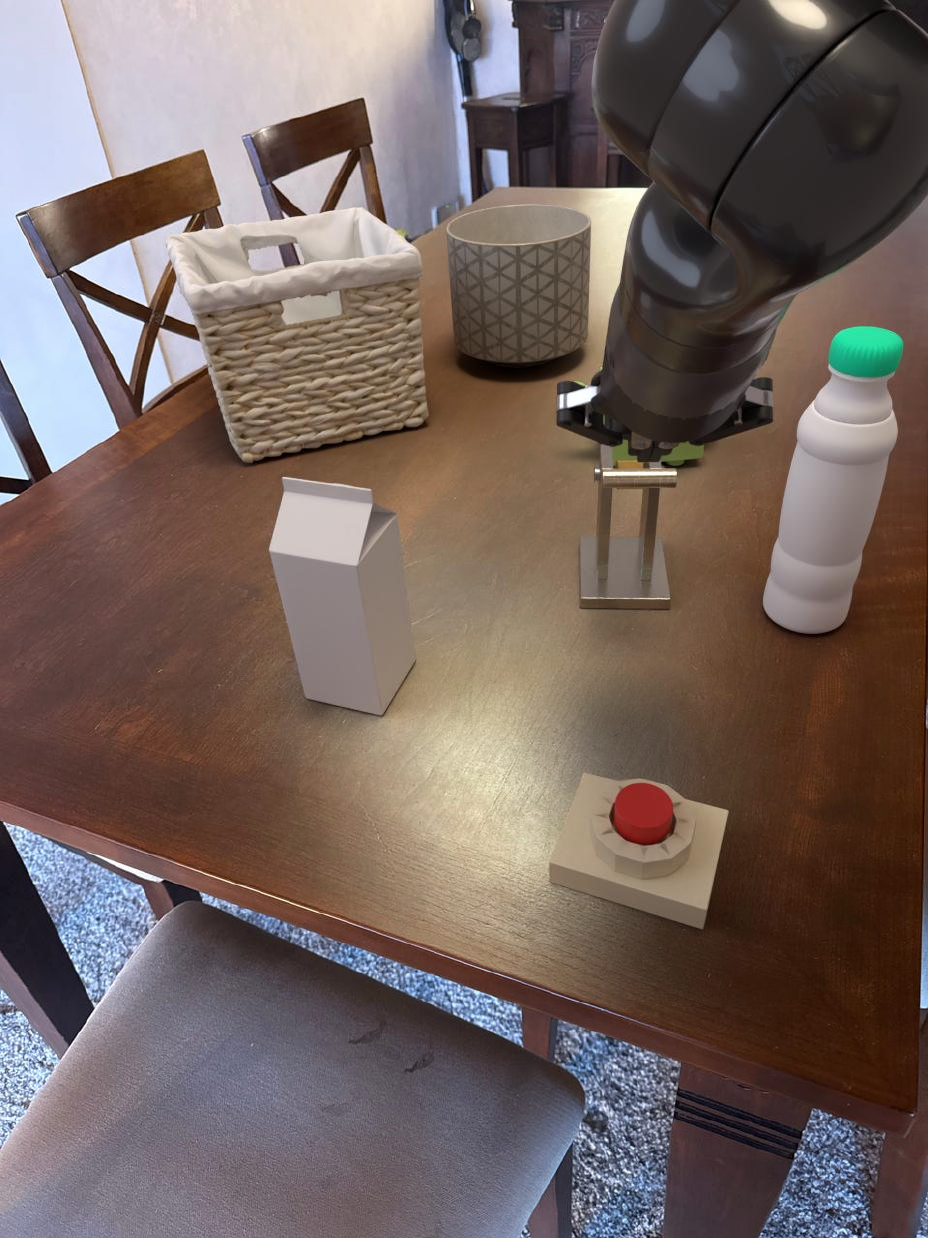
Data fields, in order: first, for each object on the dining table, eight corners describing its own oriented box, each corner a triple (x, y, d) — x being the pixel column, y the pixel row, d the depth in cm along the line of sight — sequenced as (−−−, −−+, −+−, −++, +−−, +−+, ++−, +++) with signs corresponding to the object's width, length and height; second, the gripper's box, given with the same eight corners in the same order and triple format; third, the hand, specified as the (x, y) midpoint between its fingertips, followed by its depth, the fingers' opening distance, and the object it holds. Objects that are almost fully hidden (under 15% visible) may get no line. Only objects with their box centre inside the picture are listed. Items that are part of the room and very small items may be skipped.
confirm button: (607, 835, 55) (608, 818, 54) (621, 794, 57) (623, 776, 56) (664, 852, 54) (666, 834, 53) (676, 808, 56) (678, 790, 55)
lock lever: (676, 494, 65) (677, 462, 64) (602, 494, 65) (603, 462, 65) (659, 487, 76) (659, 460, 76) (596, 487, 77) (596, 460, 77)
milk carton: (383, 717, 69) (348, 516, 57) (305, 699, 72) (256, 502, 60) (417, 661, 74) (391, 465, 62) (343, 646, 77) (305, 454, 65)
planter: (470, 392, 116) (462, 251, 105) (444, 341, 131) (434, 213, 119) (605, 372, 118) (611, 232, 107) (564, 325, 133) (566, 197, 122)
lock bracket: (669, 609, 78) (683, 485, 70) (580, 608, 79) (584, 486, 71) (660, 546, 86) (672, 428, 77) (579, 546, 86) (582, 429, 78)
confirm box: (548, 882, 57) (548, 845, 54) (583, 792, 62) (584, 754, 60) (703, 930, 53) (710, 893, 51) (724, 830, 59) (732, 792, 56)
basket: (203, 388, 123) (159, 226, 109) (384, 353, 129) (364, 195, 115) (229, 474, 102) (180, 288, 89) (442, 427, 109) (427, 246, 95)
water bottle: (862, 616, 75) (946, 335, 60) (809, 648, 73) (882, 362, 57) (797, 578, 80) (858, 309, 64) (744, 608, 77) (795, 333, 62)
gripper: (826, 262, 41) (746, 393, 58) (548, 270, 43) (550, 396, 60) (829, 414, 41) (747, 501, 58) (546, 418, 42) (549, 502, 59)
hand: (647, 448), depth 59 cm, fingers closed
